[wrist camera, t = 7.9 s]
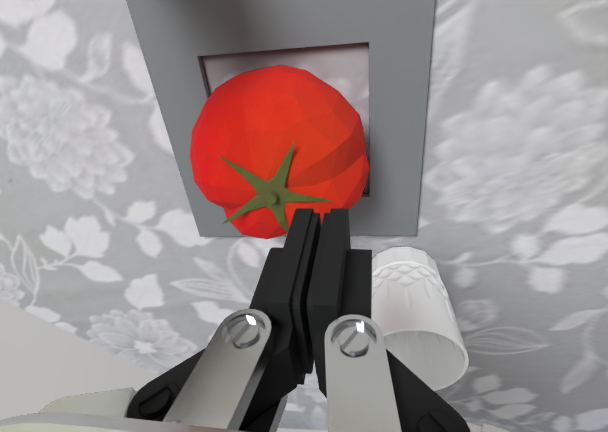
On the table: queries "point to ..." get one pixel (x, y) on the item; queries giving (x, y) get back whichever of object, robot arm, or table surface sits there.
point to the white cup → (417, 316)
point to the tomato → (277, 149)
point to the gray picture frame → (296, 34)
